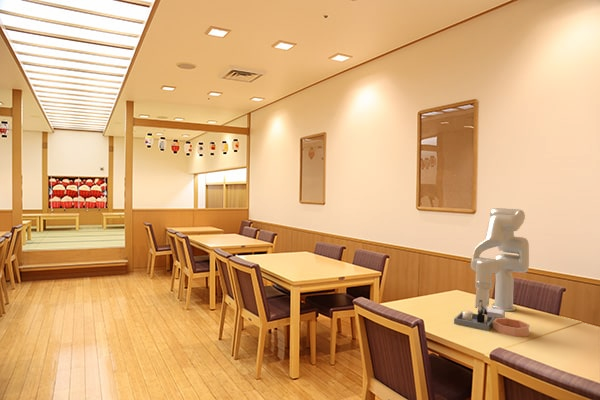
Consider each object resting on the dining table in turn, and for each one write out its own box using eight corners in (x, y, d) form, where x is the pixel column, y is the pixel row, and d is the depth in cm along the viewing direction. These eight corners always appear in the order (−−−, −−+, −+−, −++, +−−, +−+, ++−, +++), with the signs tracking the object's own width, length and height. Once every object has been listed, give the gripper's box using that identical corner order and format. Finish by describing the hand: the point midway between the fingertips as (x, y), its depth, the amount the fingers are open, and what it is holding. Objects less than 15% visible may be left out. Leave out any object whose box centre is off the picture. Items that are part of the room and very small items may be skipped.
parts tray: (461, 316, 215) (462, 311, 215) (494, 323, 206) (494, 317, 206) (453, 324, 202) (454, 318, 202) (488, 331, 193) (488, 325, 193)
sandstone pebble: (463, 319, 209) (464, 310, 209) (473, 321, 207) (473, 311, 207) (461, 321, 206) (461, 312, 205) (470, 323, 203) (471, 313, 203)
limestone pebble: (478, 322, 205) (478, 312, 205) (487, 324, 203) (488, 314, 203) (476, 324, 202) (476, 314, 201) (485, 326, 199) (486, 316, 199)
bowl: (496, 323, 205) (496, 316, 205) (530, 330, 196) (530, 322, 196) (490, 331, 193) (491, 323, 193) (526, 339, 184) (527, 330, 184)
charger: (505, 316, 220) (502, 323, 207) (487, 313, 225) (483, 319, 212) (506, 307, 220) (503, 314, 207) (487, 304, 225) (483, 310, 212)
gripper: (479, 281, 211) (477, 315, 211) (471, 287, 197) (470, 323, 197) (494, 283, 206) (493, 318, 207) (488, 289, 192) (486, 326, 193)
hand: (482, 320), depth 202 cm, fingers open, 6 cm apart
